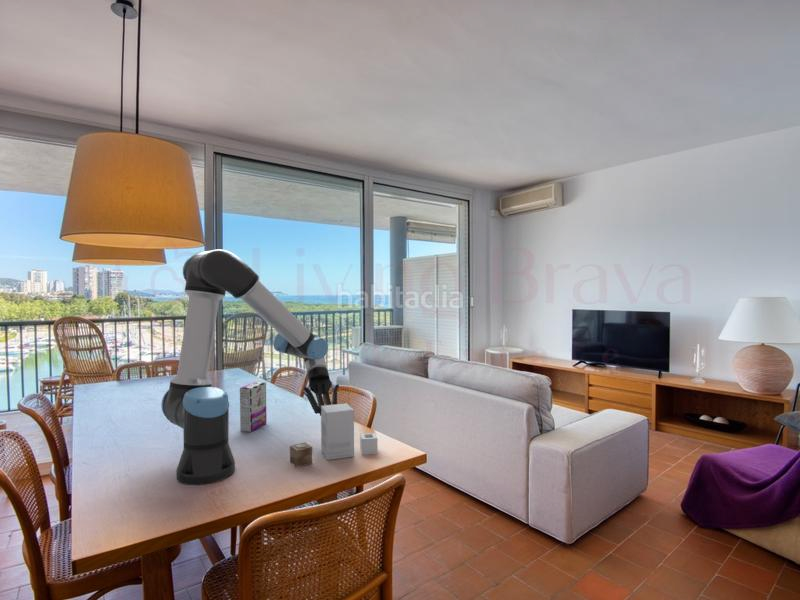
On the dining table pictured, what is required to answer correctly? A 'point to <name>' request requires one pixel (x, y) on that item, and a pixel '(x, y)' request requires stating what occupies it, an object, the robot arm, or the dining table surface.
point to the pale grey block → (368, 443)
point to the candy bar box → (252, 406)
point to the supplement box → (337, 431)
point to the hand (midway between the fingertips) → (330, 430)
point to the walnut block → (301, 454)
